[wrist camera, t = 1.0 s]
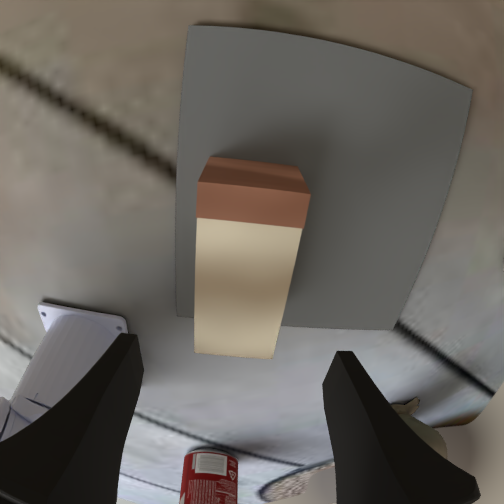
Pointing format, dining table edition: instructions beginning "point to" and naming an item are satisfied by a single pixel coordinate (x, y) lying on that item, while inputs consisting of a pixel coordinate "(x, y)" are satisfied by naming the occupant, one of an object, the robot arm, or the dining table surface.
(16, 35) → the dining table surface
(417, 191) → the rubber mat
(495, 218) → the dining table surface
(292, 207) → the brown and cream block
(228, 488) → the soda can
